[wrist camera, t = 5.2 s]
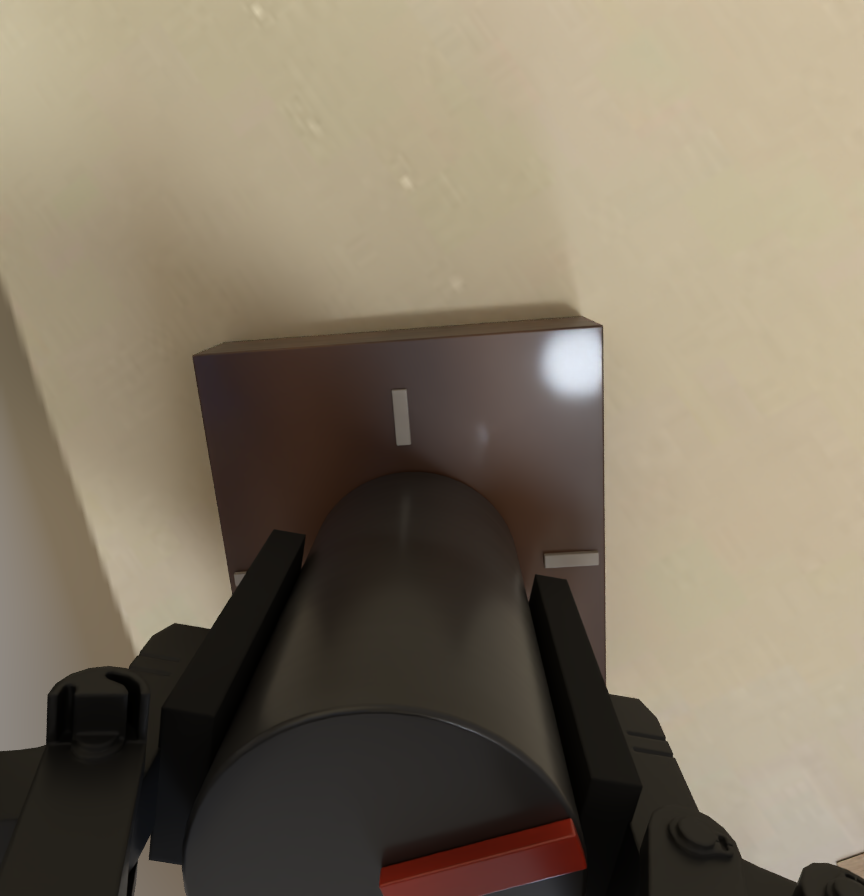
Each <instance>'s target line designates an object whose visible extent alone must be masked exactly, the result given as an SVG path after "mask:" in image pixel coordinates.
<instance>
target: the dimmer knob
mask: <svg viewBox="0 0 864 896" xmlns="http://www.w3.org/2000/svg"><path fill="white" fill-rule="evenodd" d="M182 872H183V880H184V887H185V892H186V895H187V896H586V891H587V879H588V862H587V852H586V845H585V841H584V837H583V832H582V828H581V824H580V820H579V815H578V811H577V807H576V803H575V798H574V794H573V790H572V786H571V781H570V777H569V773H568V769H567V764H566V760H565V756H564V752H563V747H562V743H561V739H560V735H559V730H558V726H557V722H556V717H555V713H554V709H553V705H552V700H551V696H550V692H549V688H548V683H547V679H546V675H545V671H544V666H543V662H542V658H541V654H540V649H539V645H538V641H537V637H536V632H535V628H534V624H533V620H532V615H531V611H530V607H529V603H528V598H527V594H526V590H525V586H524V581H523V577H522V573H521V569H520V564H519V560H518V556H517V552H516V548H515V544H514V540H513V537H512V535H511V533H510V530H509V528H508V526H507V524H506V523H505V521H504V519H503V518H502V516H501V515H500V514H499V512H498V511H497V510H496V509H495V507H494V506H493V505H492V504H491V503H490V502H489V501H488V500H487V499H486V498H485V497H483V496H482V495H481V494H479V493H478V492H477V491H475V490H474V489H472V488H470V487H469V486H467V485H465V484H463V483H461V482H459V481H457V480H454V479H451V478H449V477H446V476H442V475H438V474H433V473H425V472H402V473H394V474H389V475H385V476H382V477H378V478H376V479H373V480H371V481H368V482H366V483H364V484H362V485H361V486H359V487H357V488H355V489H354V490H352V491H351V492H350V493H348V494H347V495H346V496H344V497H343V498H342V499H341V500H340V501H339V502H338V503H337V504H336V505H335V506H334V508H333V509H332V510H331V512H330V513H329V514H328V515H327V517H326V519H325V520H324V522H323V524H322V526H321V528H320V530H319V532H318V534H317V536H316V539H315V541H314V543H313V545H312V547H311V549H310V552H309V554H308V556H307V558H306V560H305V562H304V565H303V567H302V569H301V571H300V573H299V575H298V578H297V580H296V582H295V584H294V586H293V589H292V591H291V593H290V595H289V597H288V599H287V602H286V604H285V606H284V608H283V610H282V612H281V615H280V617H279V619H278V621H277V623H276V626H275V628H274V630H273V632H272V634H271V636H270V639H269V641H268V643H267V645H266V647H265V649H264V652H263V654H262V656H261V658H260V660H259V662H258V665H257V667H256V669H255V671H254V673H253V676H252V678H251V680H250V682H249V684H248V686H247V689H246V691H245V693H244V695H243V697H242V699H241V702H240V704H239V706H238V708H237V710H236V713H235V715H234V717H233V719H232V721H231V723H230V726H229V728H228V730H227V732H226V734H225V736H224V739H223V741H222V743H221V745H220V747H219V750H218V752H217V754H216V756H215V758H214V760H213V763H212V765H211V767H210V769H209V771H208V773H207V776H206V778H205V780H204V782H203V784H202V786H201V789H200V791H199V793H198V795H197V797H196V800H195V802H194V804H193V807H192V810H191V812H190V815H189V818H188V820H187V823H186V828H185V833H184V838H183V844H182Z"/></svg>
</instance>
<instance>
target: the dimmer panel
mask: <svg viewBox="0 0 864 896" xmlns="http://www.w3.org/2000/svg"><path fill="white" fill-rule="evenodd" d="M193 363H194V369H195V375H196V381H197V387H198V393H199V399H200V405H201V411H202V417H203V423H204V428H205V434H206V440H207V446H208V452H209V458H210V464H211V470H212V476H213V482H214V488H215V494H216V500H217V506H218V512H219V518H220V524H221V530H222V536H223V541H224V547H225V553H226V559H227V565H228V571H229V577H230V583H231V589H232V594H233V593H234V591H235V590H236V588H237V587H238V585H239V583H240V582H241V580H242V579H243V577H244V575H245V574H246V572H247V571H248V569H249V567H250V566H251V564H252V563H253V561H254V560H255V558H256V556H257V555H258V553H259V552H260V550H261V548H262V547H263V545H264V544H265V542H266V541H267V539H268V537H269V536H270V534H271V533H272V531H273V529H276V530H282V531H288V532H293V533H299V534H305V535H306V538H305V545H304V553H303V560H302V567H303V565H304V562H305V560H306V558H307V556H308V554H309V552H310V549H311V547H312V545H313V543H314V541H315V539H316V536H317V534H318V532H319V530H320V528H321V526H322V524H323V522H324V520H325V519H326V517H327V515H328V514H329V513H330V512H331V510H332V509H333V508H334V506H335V505H336V504H337V503H338V502H339V501H340V500H341V499H342V498H343V497H344V496H346V495H347V494H348V493H350V492H351V491H352V490H354V489H355V488H357V487H359V486H361V485H362V484H364V483H366V482H368V481H371V480H373V479H376V478H378V477H382V476H385V475H389V474H394V473H402V472H425V473H433V474H438V475H442V476H446V477H449V478H451V479H454V480H457V481H459V482H461V483H463V484H465V485H467V486H469V487H470V488H472V489H474V490H475V491H477V492H478V493H479V494H481V495H482V496H483V497H485V498H486V499H487V500H488V501H489V502H490V503H491V504H492V505H493V506H494V507H495V509H496V510H497V511H498V512H499V514H500V515H501V516H502V518H503V519H504V521H505V523H506V524H507V526H508V528H509V530H510V533H511V535H512V537H513V540H514V544H515V548H516V552H517V556H518V560H519V564H520V569H521V573H522V577H523V581H524V586H525V590H526V594H527V598H528V602H529V598H530V594H531V590H532V586H533V581H534V577H535V574H538V575H543V576H549V577H555V578H561V579H567V581H568V584H569V587H570V589H571V592H572V595H573V598H574V600H575V603H576V606H577V609H578V611H579V614H580V617H581V619H582V622H583V625H584V628H585V630H586V633H587V636H588V638H589V641H590V644H591V647H592V649H593V652H594V655H595V658H596V660H597V663H598V666H599V668H600V671H601V674H602V677H603V679H604V682H605V685H606V634H605V509H604V385H603V326H602V325H600V324H598V323H596V322H594V321H592V320H590V319H587V318H585V317H583V316H577V317H563V318H549V319H536V320H522V321H508V322H495V323H481V324H468V325H454V326H440V327H427V328H413V329H399V330H386V331H372V332H359V333H345V334H331V335H318V336H304V337H290V338H277V339H263V340H250V341H236V342H224V343H222V344H219V345H217V346H214V347H212V348H209V349H207V350H204V351H202V352H199V353H197V354H194V355H193ZM302 567H301V569H302Z"/></svg>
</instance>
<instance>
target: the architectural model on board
mask: <svg viewBox="0 0 864 896" xmlns="http://www.w3.org/2000/svg"><path fill="white" fill-rule="evenodd" d="M837 865H838V867H841V868H844V869H847V870H849V871H851V872H853V873H854V874H856V875H858V876H860V877H862V878H863V879H864V854H861V855H858V856H855V857H853V858H850V859H847V860H844V861H841V862H838V863H837Z"/></svg>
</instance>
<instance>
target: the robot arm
mask: <svg viewBox="0 0 864 896" xmlns="http://www.w3.org/2000/svg"><path fill="white" fill-rule="evenodd" d="M305 538H306V535H305V534H299V533H293V532H288V531H282V530H276V529H273V531H272V533H271V534H270V536H269V537H268V539H267V541H266V542H265V544H264V545H263V547H262V548H261V550H260V552H259V553H258V555H257V556H256V558H255V560H254V561H253V563H252V564H251V566H250V567H249V569H248V571H247V572H246V574H245V575H244V577H243V579H242V580H241V582H240V583H239V585H238V587H237V588H236V590H235V591H234V593H233V594H232V596H231V598H230V599H229V601H228V602H227V604H226V606H225V607H224V609H223V610H222V612H221V614H220V615H219V617H218V618H217V620H216V621H215V623H214V625H213V626H212V628H211V629H206V628H201V627H195V626H189V625H183V624H177V623H174V624H172V625H170V626H169V627H167V628H165V629H163V630H162V631H160V632H158V633H156V634H155V635H153V636H152V637H151V639H150V640H149V641H148V642H147V644H146V645H145V646H144V648H143V649H142V650H141V651H140V654H139V656H137V657H136V658H135V659H134V661H133V662H132V663H131V664H130V666H129V669H127V668H120V667H112V666H107V667H96V668H88V669H85V670H82V671H79V672H76V673H73V674H70V675H69V676H67V677H66V678H64V679H62V680H61V681H59V682H58V683H56V684H55V686H54V687H53V688H52V690H51V691H50V692H49V694H48V702H47V736H46V745H44V746H41V747H38V748H31V749H23V750H13V751H0V896H134V892H135V886H136V876H137V863H138V858H139V856H140V854H141V852H142V850H143V848H144V846H145V844H146V842H147V840H148V838H149V836H150V835H151V840H150V852H149V860H154V861H160V862H166V863H172V864H179V865H182V844H183V838H184V833H185V828H186V823H187V820H188V818H189V815H190V812H191V810H192V807H193V804H194V802H195V800H196V797H197V795H198V793H199V791H200V789H201V786H202V784H203V782H204V780H205V778H206V776H207V773H208V771H209V769H210V767H211V765H212V763H213V760H214V758H215V756H216V754H217V752H218V750H219V747H220V745H221V743H222V741H223V739H224V736H225V734H226V732H227V730H228V728H229V726H230V723H231V721H232V719H233V717H234V715H235V713H236V710H237V708H238V706H239V704H240V702H241V699H242V697H243V695H244V693H245V691H246V689H247V686H248V684H249V682H250V680H251V678H252V676H253V673H254V671H255V669H256V667H257V665H258V662H259V660H260V658H261V656H262V654H263V652H264V649H265V647H266V645H267V643H268V641H269V639H270V636H271V634H272V632H273V630H274V628H275V626H276V623H277V621H278V619H279V617H280V615H281V612H282V610H283V608H284V606H285V604H286V602H287V599H288V597H289V595H290V593H291V591H292V589H293V586H294V584H295V582H296V580H297V578H298V575H299V573H300V571H301V567H302V560H303V553H304V545H305ZM528 603H529V607H530V611H531V615H532V620H533V624H534V628H535V632H536V637H537V641H538V645H539V649H540V654H541V658H542V662H543V666H544V671H545V675H546V679H547V683H548V688H549V692H550V696H551V700H552V705H553V709H554V713H555V717H556V722H557V726H558V730H559V735H560V739H561V743H562V747H563V752H564V756H565V760H566V764H567V769H568V773H569V777H570V781H571V786H572V790H573V794H574V798H575V803H576V807H577V811H578V815H579V820H580V824H581V828H582V832H583V837H584V841H585V845H586V852H587V862H588V879H587V891H586V896H864V879H863V878H862V877H860V876H858V875H856V874H854V873H853V872H851V871H849V870H847V869H844V868H841V867H838V866H835V865H832V864H829V863H812V864H810V865H809V866H807V867H805V868H803V870H802V873H801V875H800V877H799V880H798V882H797V883H796V882H794V881H792V880H789V879H787V878H784V877H782V876H780V875H777V874H775V873H772V872H770V871H767V870H765V869H763V868H760V867H758V866H756V865H754V864H752V863H750V862H748V861H746V860H744V859H742V858H741V855H740V852H739V850H738V847H737V845H736V842H735V841H734V840H733V839H732V837H731V836H730V835H729V834H728V833H727V831H726V830H725V829H724V828H723V827H722V826H720V825H719V824H718V823H717V822H715V821H714V820H713V819H711V818H710V817H709V816H707V815H705V814H703V813H701V812H699V810H698V808H697V806H696V804H695V801H694V799H693V797H692V795H691V792H690V790H689V788H688V786H687V784H686V781H685V779H684V777H683V775H682V773H681V770H680V768H679V766H678V764H677V761H676V759H675V758H673V753H672V750H671V748H670V746H669V744H668V742H667V741H666V740H665V739H666V737H665V735H664V733H663V730H662V728H661V726H660V724H659V722H658V719H657V718H656V717H655V715H654V714H653V713H652V712H651V711H650V710H649V709H648V708H647V707H646V706H645V705H644V704H643V703H642V702H641V701H640V700H639V699H635V698H629V697H623V696H617V695H612V694H609V693H608V690H607V687H606V685H605V682H604V679H603V677H602V674H601V671H600V668H599V666H598V663H597V660H596V658H595V655H594V652H593V649H592V647H591V644H590V641H589V638H588V636H587V633H586V630H585V628H584V625H583V622H582V619H581V617H580V614H579V611H578V609H577V606H576V603H575V600H574V598H573V595H572V592H571V589H570V587H569V584H568V581H567V579H561V578H555V577H549V576H543V575H538V574H535V577H534V581H533V586H532V590H531V594H530V598H529V602H528Z"/></svg>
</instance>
